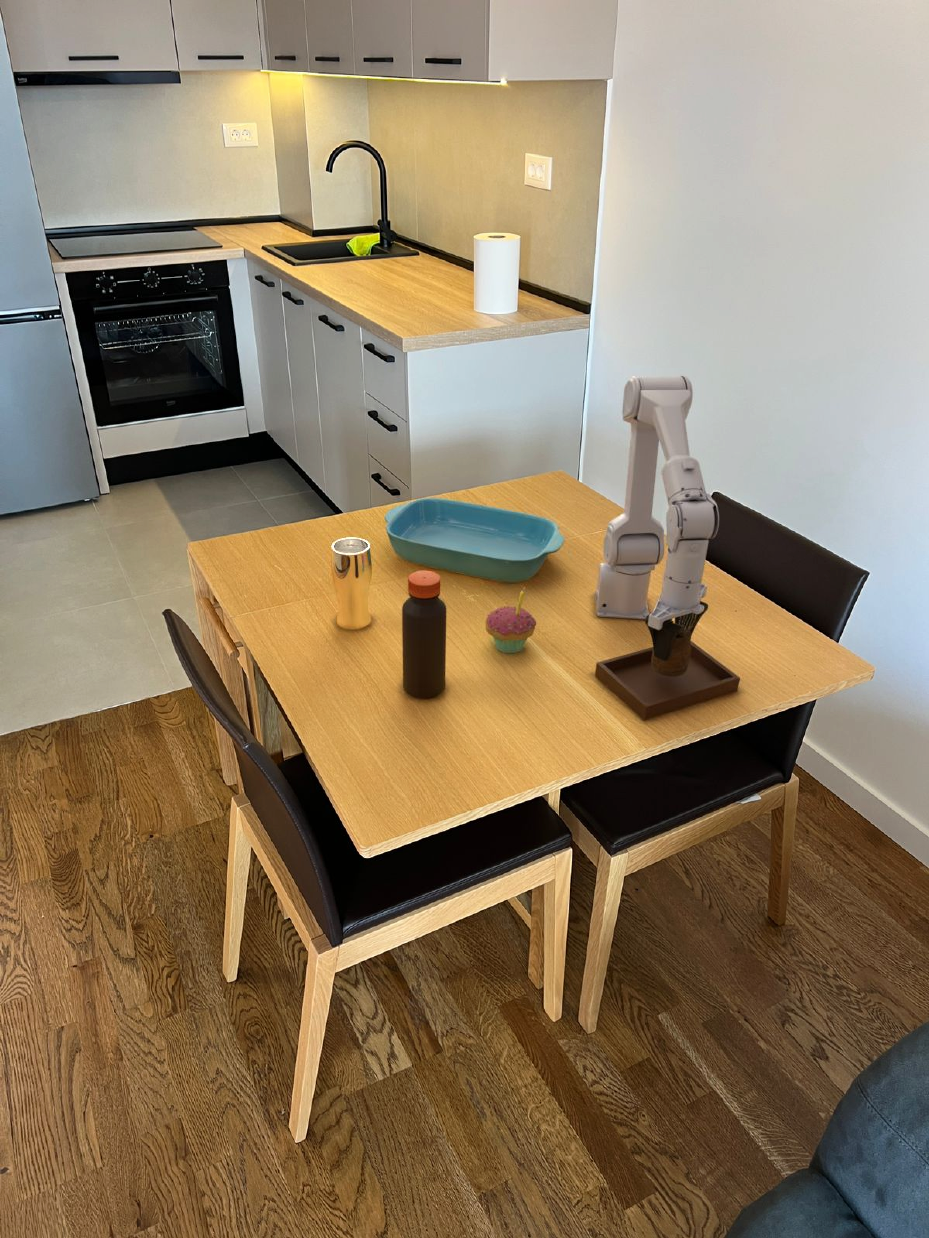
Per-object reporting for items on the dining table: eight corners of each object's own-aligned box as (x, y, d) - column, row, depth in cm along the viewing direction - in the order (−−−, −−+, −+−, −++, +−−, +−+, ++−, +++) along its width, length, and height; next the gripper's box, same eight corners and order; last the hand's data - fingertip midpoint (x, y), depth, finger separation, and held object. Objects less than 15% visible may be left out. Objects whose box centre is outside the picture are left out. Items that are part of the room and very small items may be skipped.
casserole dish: (573, 550, 195) (576, 518, 191) (544, 599, 177) (547, 565, 173) (409, 520, 205) (409, 490, 201) (366, 564, 187) (365, 532, 183)
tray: (644, 720, 145) (646, 707, 143) (594, 675, 155) (596, 662, 154) (737, 691, 152) (740, 677, 151) (684, 650, 162) (686, 637, 161)
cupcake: (539, 639, 164) (544, 578, 158) (526, 664, 157) (530, 602, 151) (492, 629, 167) (495, 570, 160) (477, 654, 160) (479, 592, 153)
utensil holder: (693, 675, 150) (705, 611, 144) (656, 679, 149) (667, 614, 143) (679, 656, 155) (689, 592, 149) (643, 659, 154) (652, 595, 148)
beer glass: (380, 616, 169) (378, 542, 162) (360, 635, 164) (357, 558, 156) (347, 608, 172) (343, 533, 164) (326, 625, 166) (322, 549, 159)
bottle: (417, 671, 155) (417, 563, 144) (453, 683, 152) (455, 574, 142) (394, 691, 150) (392, 581, 139) (430, 704, 147) (431, 593, 136)
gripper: (682, 600, 136) (669, 678, 143) (729, 567, 146) (715, 641, 153) (640, 584, 140) (630, 660, 147) (689, 553, 150) (677, 625, 157)
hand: (671, 649), depth 150 cm, fingers closed on utensil holder, 6 cm apart
